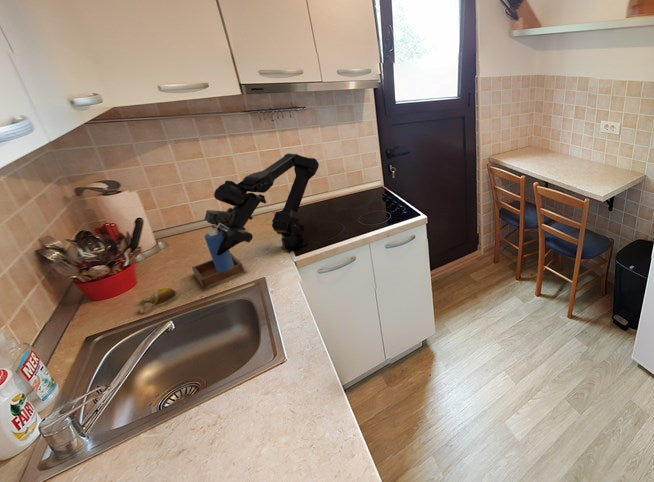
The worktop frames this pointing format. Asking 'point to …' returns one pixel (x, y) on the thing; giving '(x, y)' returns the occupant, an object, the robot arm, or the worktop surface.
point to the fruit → (159, 297)
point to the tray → (215, 272)
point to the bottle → (214, 242)
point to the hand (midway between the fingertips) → (214, 252)
